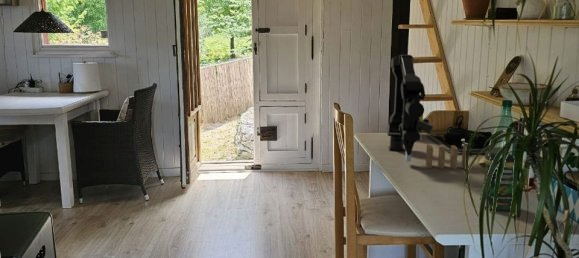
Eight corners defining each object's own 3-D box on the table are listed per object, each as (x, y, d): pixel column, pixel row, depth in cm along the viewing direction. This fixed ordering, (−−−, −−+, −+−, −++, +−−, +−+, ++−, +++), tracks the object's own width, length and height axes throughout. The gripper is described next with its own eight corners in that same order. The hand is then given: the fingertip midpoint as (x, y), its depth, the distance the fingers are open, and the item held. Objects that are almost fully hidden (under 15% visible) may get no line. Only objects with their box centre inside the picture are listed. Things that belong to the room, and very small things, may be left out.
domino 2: (425, 164, 211) (427, 144, 210) (429, 164, 211) (431, 144, 209) (427, 168, 206) (428, 147, 205) (431, 168, 206) (433, 147, 204)
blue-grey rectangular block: (405, 158, 212) (406, 138, 210) (409, 158, 211) (410, 138, 210) (406, 161, 207) (407, 140, 205) (410, 161, 207) (412, 141, 205)
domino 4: (449, 165, 210) (450, 145, 209) (453, 165, 210) (455, 145, 208) (451, 169, 205) (453, 148, 204) (456, 169, 205) (457, 148, 204)
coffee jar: (483, 210, 161) (488, 149, 157) (477, 202, 169) (482, 143, 165) (517, 212, 160) (523, 151, 156) (510, 203, 168) (515, 144, 164)
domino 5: (461, 166, 210) (463, 145, 208) (465, 166, 210) (467, 146, 208) (464, 169, 205) (465, 148, 203) (468, 169, 205) (470, 149, 203)
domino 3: (437, 165, 211) (438, 144, 209) (441, 165, 211) (443, 145, 209) (439, 168, 206) (441, 148, 204) (444, 168, 206) (445, 148, 204)
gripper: (436, 118, 195) (433, 160, 199) (428, 109, 214) (426, 148, 217) (404, 117, 197) (402, 159, 200) (399, 108, 215) (397, 147, 218)
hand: (408, 153), depth 209 cm, fingers closed on blue-grey rectangular block, 5 cm apart
